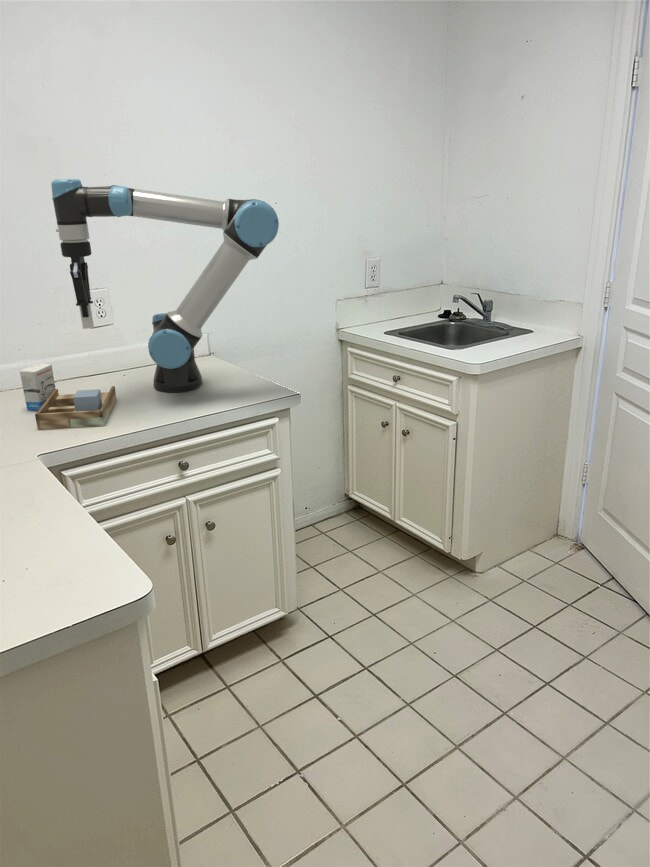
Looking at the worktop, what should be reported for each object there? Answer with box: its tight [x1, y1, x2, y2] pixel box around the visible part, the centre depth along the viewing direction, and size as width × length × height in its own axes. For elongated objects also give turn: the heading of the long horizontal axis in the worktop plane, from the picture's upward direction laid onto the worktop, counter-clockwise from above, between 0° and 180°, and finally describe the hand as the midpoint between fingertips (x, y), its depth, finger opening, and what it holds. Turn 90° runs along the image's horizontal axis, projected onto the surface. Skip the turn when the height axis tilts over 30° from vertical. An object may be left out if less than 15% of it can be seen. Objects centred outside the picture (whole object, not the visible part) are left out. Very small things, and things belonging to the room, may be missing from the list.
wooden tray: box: [34, 385, 117, 430], centre depth 180 cm, size 17×22×4 cm
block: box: [73, 389, 102, 411], centre depth 175 cm, size 6×6×5 cm
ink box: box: [19, 363, 57, 412], centre depth 185 cm, size 9×5×12 cm, turn 168°
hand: (88, 327), depth 181 cm, fingers closed
